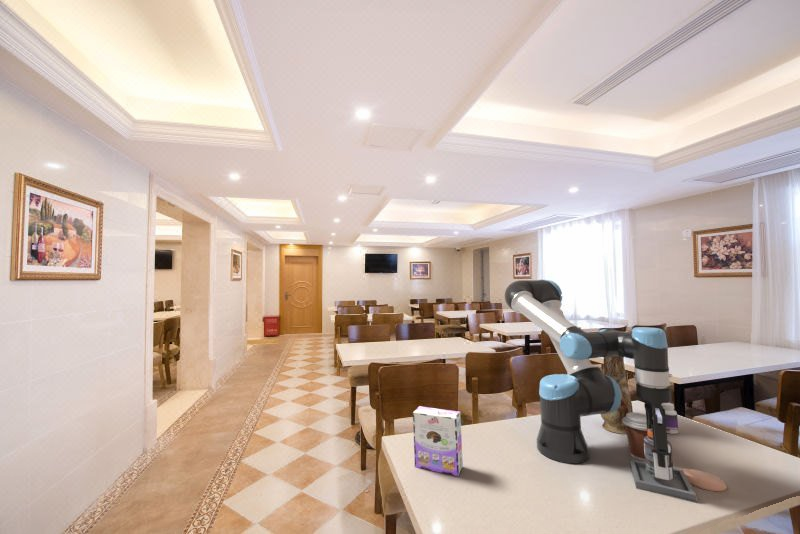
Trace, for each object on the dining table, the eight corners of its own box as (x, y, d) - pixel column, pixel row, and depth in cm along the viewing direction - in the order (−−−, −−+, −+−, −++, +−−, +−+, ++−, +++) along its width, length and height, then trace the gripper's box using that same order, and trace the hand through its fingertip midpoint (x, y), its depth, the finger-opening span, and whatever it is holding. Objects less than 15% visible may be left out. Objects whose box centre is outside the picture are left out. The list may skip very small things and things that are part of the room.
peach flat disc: (685, 485, 83) (685, 482, 84) (676, 468, 91) (676, 465, 91) (732, 495, 79) (732, 493, 79) (719, 476, 87) (718, 474, 87)
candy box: (463, 466, 95) (461, 410, 96) (458, 477, 89) (456, 418, 90) (420, 457, 100) (419, 404, 101) (413, 467, 95) (412, 411, 96)
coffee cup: (624, 445, 104) (621, 408, 105) (659, 453, 99) (656, 414, 100) (624, 458, 97) (621, 418, 98) (662, 467, 92) (659, 425, 92)
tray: (636, 488, 83) (635, 481, 83) (630, 465, 93) (629, 459, 93) (696, 502, 77) (696, 495, 77) (683, 476, 87) (682, 469, 87)
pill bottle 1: (679, 481, 82) (676, 437, 82) (653, 479, 83) (650, 436, 83) (665, 468, 88) (662, 427, 88) (641, 466, 89) (638, 425, 89)
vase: (593, 423, 122) (588, 345, 124) (619, 421, 123) (613, 344, 125) (615, 436, 111) (609, 350, 113) (642, 433, 112) (636, 349, 114)
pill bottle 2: (682, 434, 111) (680, 406, 112) (667, 434, 111) (665, 406, 112) (669, 427, 117) (667, 400, 117) (655, 427, 117) (653, 400, 117)
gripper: (679, 397, 77) (687, 496, 75) (662, 377, 93) (668, 458, 91) (641, 392, 80) (648, 486, 79) (631, 374, 97) (636, 451, 95)
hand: (659, 471), depth 85 cm, fingers closed on pill bottle 1, 6 cm apart
